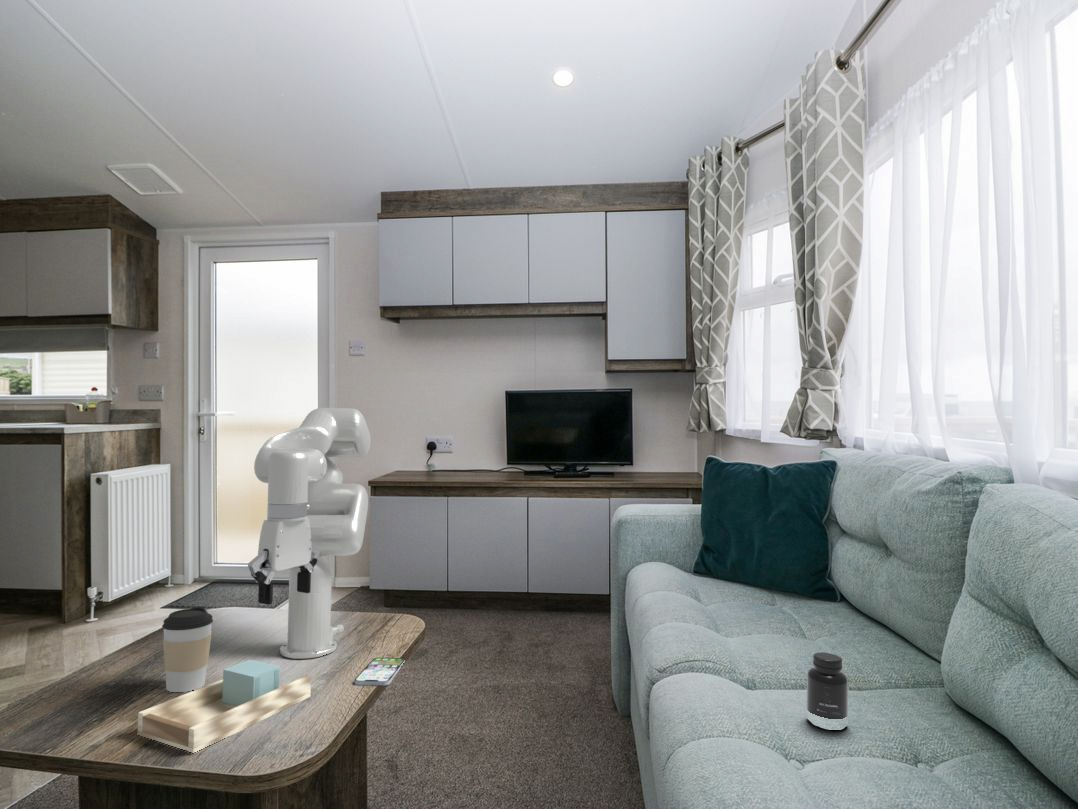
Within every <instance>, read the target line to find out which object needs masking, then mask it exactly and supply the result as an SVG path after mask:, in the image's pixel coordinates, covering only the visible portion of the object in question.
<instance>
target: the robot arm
mask: <svg viewBox="0 0 1078 809" xmlns="http://www.w3.org/2000/svg"><path fill="white" fill-rule="evenodd" d="M371 440H372V438H371V433H370V430H369V427H368V424H367V422H366V419H365V417H364V414H362V413H361V411H359V410H358V409H356V408H352V407H351V408H349V407H348V408H347V407H345V408H344V407H319V408H315V409H313V410H311V411H310V412H309V413H307V415H306V416H305V418H304V420H303V421H302V423H301V424H300V426H299V427H296V428H293V429H290V430H288V431H285V432H281V433H279V434H276V435H274V436H271V437H270V438H269V439H267V440H266V441H265V442H264V444H263V445H262V446H261V448H260V449H259V451H258V453H257V454H256V457H255V460H254V465H253V468H254V469H253V471H254V474H255V477H256V478H257V479H258V481H259V482H261V483H264V484H268V485H267V508H266V509H267V510H266V511H267V512H266V513H267V514H266V516H267V517H266V519H264V520H263V523H262V525H261V530H260V534H259V540H258V541H259V542H258V550H257V555H256V556H255V557H254V558H253V559H251V560H250V561H249V562H248V564H247V567H248V569H249V572H250V575H251V577H252V578H253V579H254V580H255V583H258V597H257V598H258V600H257V602H258V603H259V604H264V605H267V606H268V605H269V606H270V605H272V604H273V602H274V601H273V597H274V596H273V594H274V593H273V592H274V590H273V589H274V584H273V582H271V581H272V580H273V578H274V576H275V575H276V574H277V573H279V572H283V571H289V572H288V574H289V577H288V579H289V580H288V611H287V614H288V616H287V642H285V643H283V644H282V645H281V646H280V647H279V654H280V655H281V656H282V657H284V658H288V659H294V660H299V659H300V660H303V659H304V660H305V659H314V658H318V657H322V656H323V655H324V656H326V654H327V655H329V654H331V653H333V652H335V650H337V646H338V644H337V643H338V642H337V641H336V640H335V639H334V637H335V635H337V634H340V633H342V632H344V630H345V629H344V625H343V624H341V623H339V624H337V625H334V626H332V625H331V618H332V617H331V614H332V581H333V580H332V578H333V577H332V571H331V568H330V566H329V565H328V563H327V562H326V561H325V560H324V558H323V557H326V556H327V557H328V556H329V557H330V556H332V557H333V556H335V557H336V556H352V555H355V554H358V553H359V552H360V550H361V548H362V546H363V543H364V542H363V541H364V537H365V532H366V530H365V529H366V523H367V517H368V512H369V510H368V508H369V495H368V492H367V489H366V488H365V487H364V486H363V485H362V484H358V483H343V481H344V475H343V473H342V470H341V469H340V468H339V466H338V465H336V464H335V463H334V462H333V460H331V459H330V458H362V457H364V456H366V455H367V454H368V453H369V451H370V449H371V443H372V442H371Z"/></svg>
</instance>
